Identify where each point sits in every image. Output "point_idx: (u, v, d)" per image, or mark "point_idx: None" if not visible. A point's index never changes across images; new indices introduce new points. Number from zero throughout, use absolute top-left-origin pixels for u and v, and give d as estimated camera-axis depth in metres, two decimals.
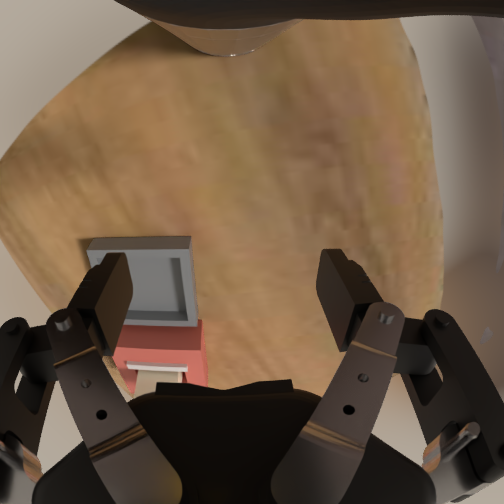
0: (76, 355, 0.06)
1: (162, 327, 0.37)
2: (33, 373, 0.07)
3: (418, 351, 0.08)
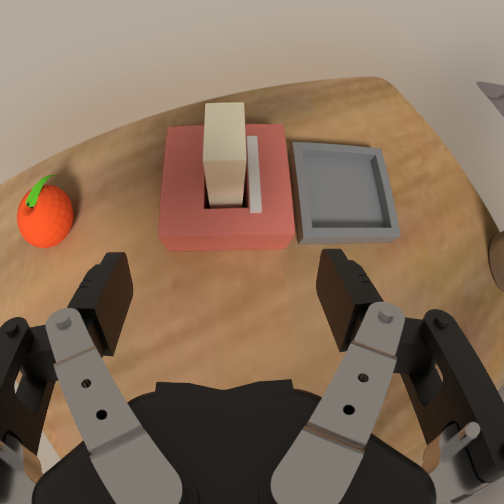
0: (76, 355, 0.06)
1: None
2: (33, 373, 0.07)
3: (418, 351, 0.08)
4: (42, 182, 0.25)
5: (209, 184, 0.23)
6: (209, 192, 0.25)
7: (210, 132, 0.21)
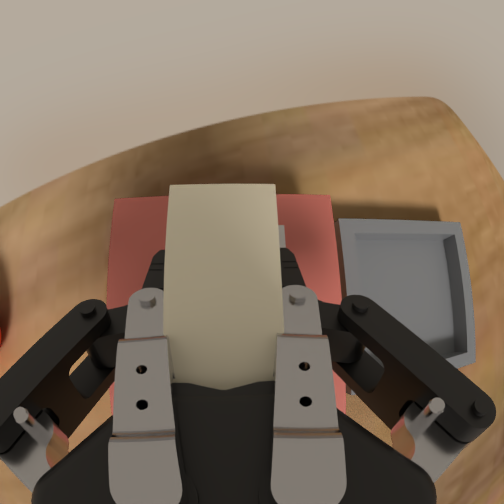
0: (144, 339, 0.06)
1: None
2: (99, 358, 0.08)
3: (334, 336, 0.08)
4: None
5: None
6: None
7: (181, 293, 0.07)
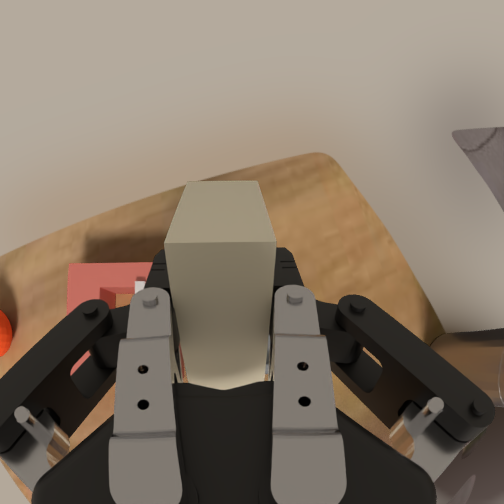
0: (146, 339, 0.06)
1: None
2: (101, 358, 0.08)
3: (331, 336, 0.08)
4: None
5: (186, 338, 0.10)
6: (188, 365, 0.10)
7: (189, 208, 0.10)
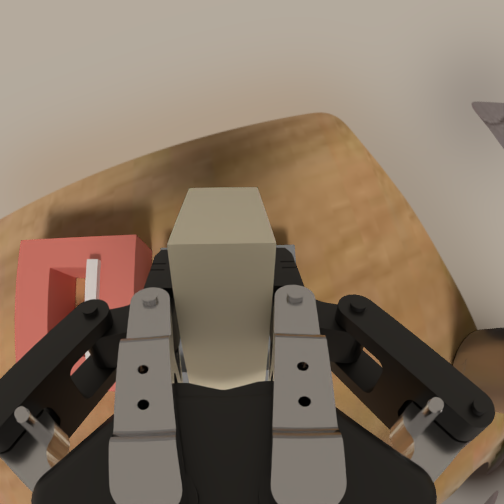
0: (146, 339, 0.06)
1: None
2: (101, 358, 0.08)
3: (331, 336, 0.08)
4: None
5: (187, 340, 0.10)
6: (190, 368, 0.10)
7: (192, 212, 0.10)
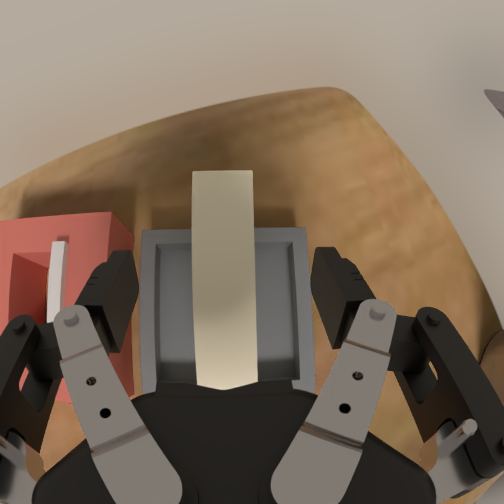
0: (82, 353, 0.06)
1: None
2: (39, 370, 0.07)
3: (410, 349, 0.08)
4: None
5: (196, 243, 0.14)
6: (195, 274, 0.14)
7: None
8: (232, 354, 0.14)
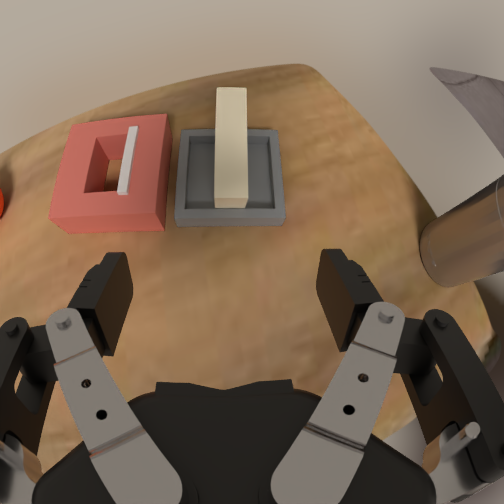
0: (76, 355, 0.06)
1: (165, 182, 0.31)
2: (33, 373, 0.07)
3: (418, 351, 0.08)
4: None
5: (218, 116, 0.27)
6: (217, 129, 0.27)
7: None
8: (234, 166, 0.27)
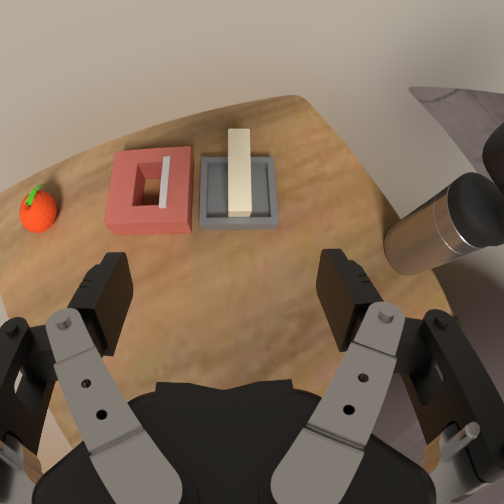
0: (76, 355, 0.06)
1: (191, 197, 0.44)
2: (33, 373, 0.07)
3: (418, 351, 0.08)
4: (36, 189, 0.37)
5: (230, 151, 0.39)
6: (229, 161, 0.39)
7: None
8: (242, 189, 0.39)
